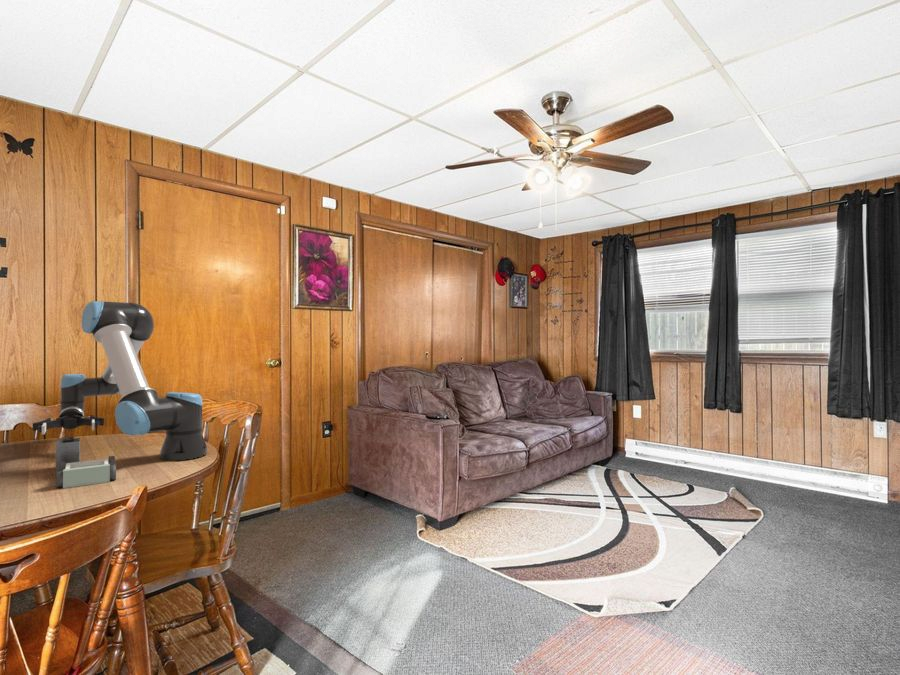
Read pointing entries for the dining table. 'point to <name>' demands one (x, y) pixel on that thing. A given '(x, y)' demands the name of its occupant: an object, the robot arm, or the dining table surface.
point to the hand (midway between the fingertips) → (68, 428)
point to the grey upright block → (67, 450)
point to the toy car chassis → (85, 472)
